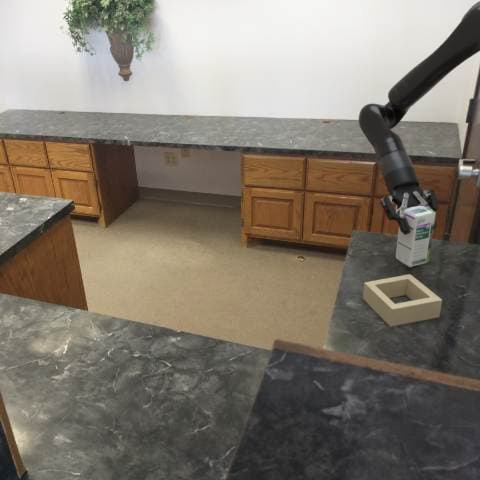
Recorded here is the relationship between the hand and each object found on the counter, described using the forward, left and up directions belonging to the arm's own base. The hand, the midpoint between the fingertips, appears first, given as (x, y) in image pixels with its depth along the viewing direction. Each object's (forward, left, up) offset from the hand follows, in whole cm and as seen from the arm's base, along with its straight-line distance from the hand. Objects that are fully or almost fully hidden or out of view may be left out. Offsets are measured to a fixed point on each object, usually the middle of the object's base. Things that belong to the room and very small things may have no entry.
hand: (420, 231), depth 127 cm
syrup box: (-1, -2, -10) cm, 10 cm away
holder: (+11, +3, -16) cm, 20 cm away
